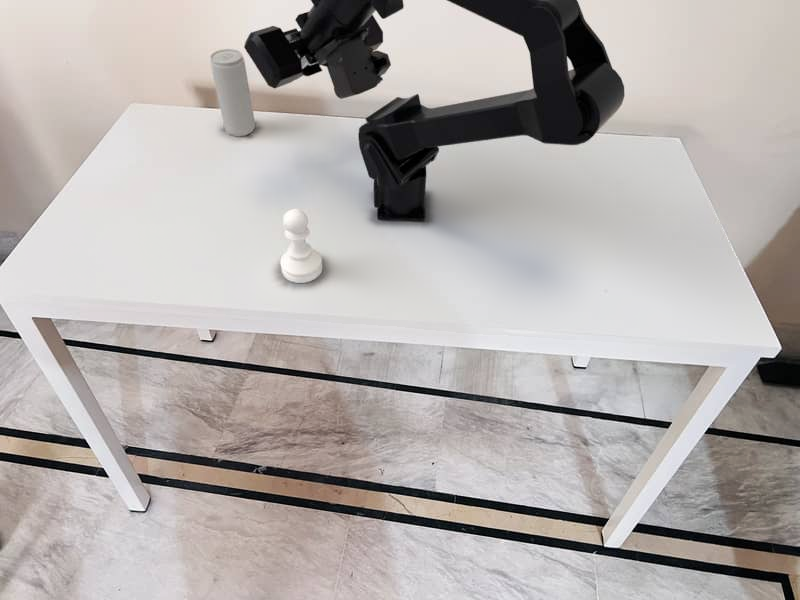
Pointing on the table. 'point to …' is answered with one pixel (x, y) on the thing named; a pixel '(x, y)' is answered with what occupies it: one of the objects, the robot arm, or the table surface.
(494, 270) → the table surface
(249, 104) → the beverage can
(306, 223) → the chess pawn
